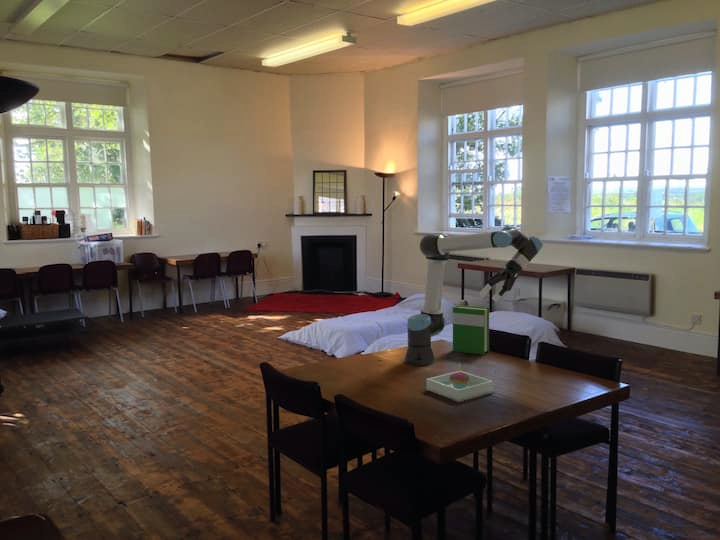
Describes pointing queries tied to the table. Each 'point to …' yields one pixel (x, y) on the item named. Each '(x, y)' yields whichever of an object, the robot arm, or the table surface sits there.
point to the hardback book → (471, 329)
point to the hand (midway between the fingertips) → (487, 297)
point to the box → (446, 389)
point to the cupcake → (459, 379)
